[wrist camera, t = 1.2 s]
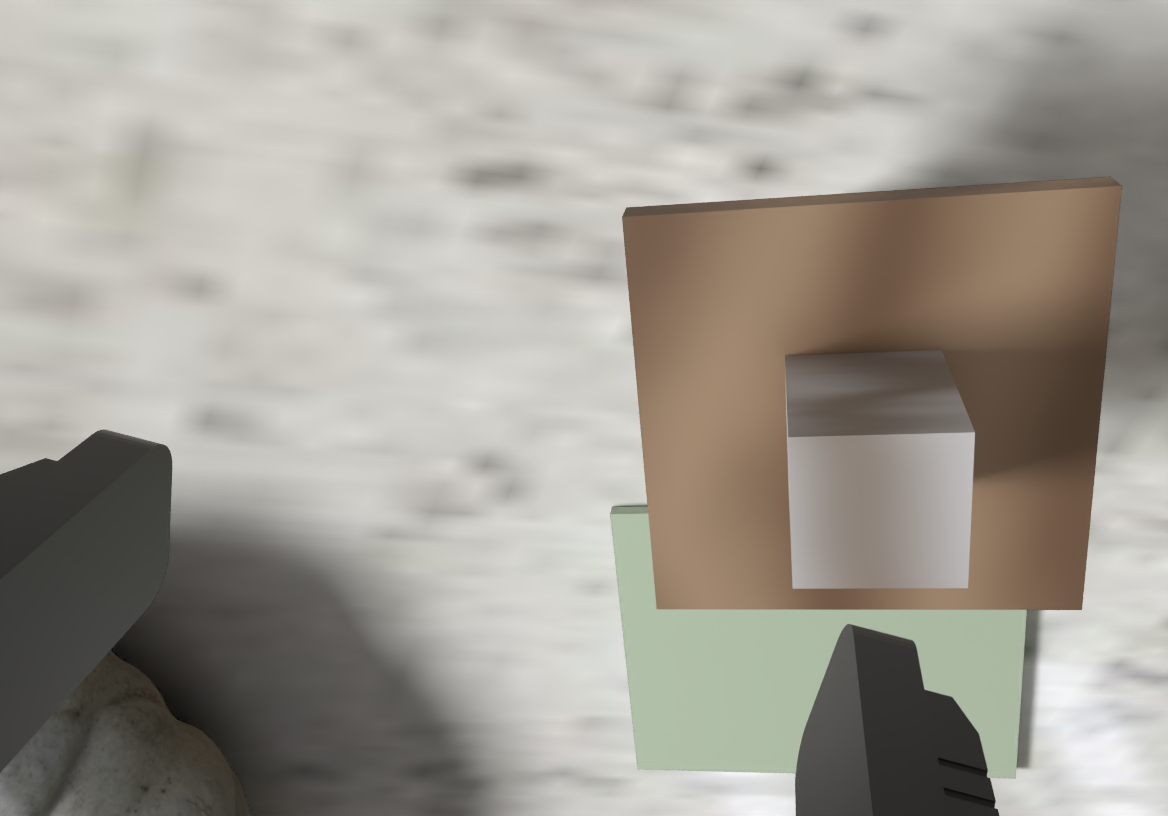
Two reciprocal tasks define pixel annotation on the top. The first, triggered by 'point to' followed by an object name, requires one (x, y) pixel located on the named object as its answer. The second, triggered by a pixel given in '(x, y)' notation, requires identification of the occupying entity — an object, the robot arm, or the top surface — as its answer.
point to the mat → (787, 670)
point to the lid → (873, 395)
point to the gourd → (119, 757)
